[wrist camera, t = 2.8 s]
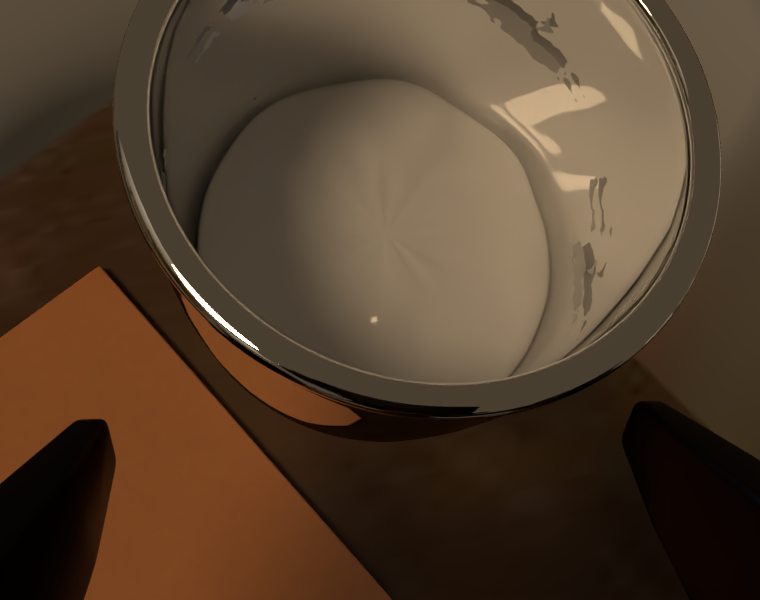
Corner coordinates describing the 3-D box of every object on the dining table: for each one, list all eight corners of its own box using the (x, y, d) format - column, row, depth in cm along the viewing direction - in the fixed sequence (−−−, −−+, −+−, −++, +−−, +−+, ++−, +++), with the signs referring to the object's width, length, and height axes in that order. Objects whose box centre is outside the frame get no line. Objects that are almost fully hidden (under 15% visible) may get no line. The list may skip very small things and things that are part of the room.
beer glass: (419, 242, 22) (657, -149, 7) (448, 426, 20) (824, 393, 6) (234, 258, 20) (80, -171, 6) (250, 453, 19) (93, 501, 5)
